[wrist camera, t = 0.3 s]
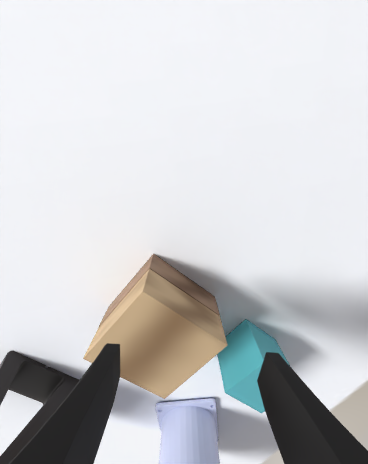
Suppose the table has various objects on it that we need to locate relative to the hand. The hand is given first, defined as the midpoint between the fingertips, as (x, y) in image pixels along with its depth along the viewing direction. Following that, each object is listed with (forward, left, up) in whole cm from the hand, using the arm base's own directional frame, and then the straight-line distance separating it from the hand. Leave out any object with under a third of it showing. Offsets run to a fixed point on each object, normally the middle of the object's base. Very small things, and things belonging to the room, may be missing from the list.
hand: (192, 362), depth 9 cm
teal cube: (-11, -6, -10) cm, 16 cm away
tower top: (-4, +3, -7) cm, 9 cm away
